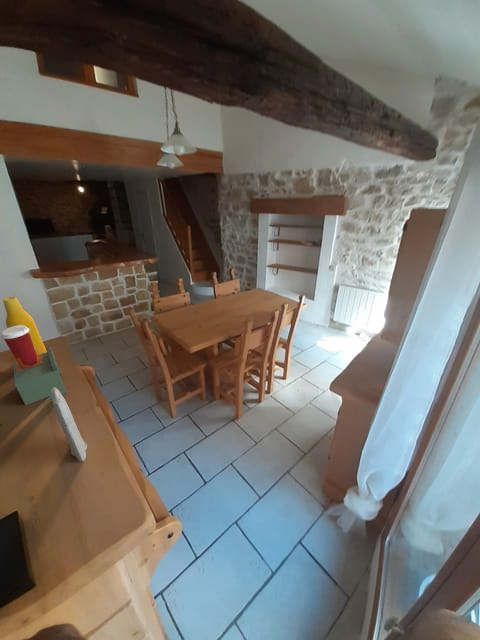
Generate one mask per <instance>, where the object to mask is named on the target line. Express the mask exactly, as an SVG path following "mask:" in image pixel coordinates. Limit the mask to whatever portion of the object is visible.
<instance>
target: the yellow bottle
mask: <svg viewBox="0 0 480 640" xmlns="http://www.w3.org/2000/svg"><path fill="white" fill-rule="evenodd" d="M2 302H3V305H4V309H5V312H6V318H5V325H6V329H7V328H10V327H13V326H18V325H24V326H26V327H27V328H29V333H30V336H31V339H32V342H33V345H34V348H35V350H36V353H37V355H39V354H42V353H46V352H48V351H47V347H46V346H45V344H44V341H43V338H42V337H41V334H40V332H39V330H38V327H37V324H36V322H35V320H34V318H33V317H32V316H31V315H30V314H29V313H28V312H27V311H25V310H24V308H23V307H22V305H21V303H20V301H19V300H18V298H17V297H16V296H8V297H5V298H3V299H2Z"/></svg>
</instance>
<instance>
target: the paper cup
mask: <svg viewBox="0 0 480 640" xmlns="http://www.w3.org/2000/svg"><path fill="white" fill-rule="evenodd" d="M0 337H1V339H2V340H4V341H5V343H6V345H7V347H8V349H9V350H10V352H11V354H12V355H13V357H14V359H15V361H17V362H18V363H19V365H20V366H21V367H28V366H31V365H34V364H35V363H37V362H38V356H37V353H36V350H35V348H34V345H33V342H32V339H31V336H30V333H29V328H27V327H26V326H24V325H18V326H13V327H10V328H7V327H6V328H4V330H2V331H1V335H0Z"/></svg>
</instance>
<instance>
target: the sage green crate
mask: <svg viewBox="0 0 480 640" xmlns="http://www.w3.org/2000/svg"><path fill="white" fill-rule="evenodd" d="M46 350H47V352H46V353H42V354H39V355H37V356H38V362H37V363H35V364H34V365H31V366H28V367H21V366H20V365H19V363H18V362H17V360H15V361H13V375H14V377H13V378H14V386H15V388H16V390H17V392H18V393H19V396H20V398H21V399H22V400H23V401H22V402H23V403H24V405H25V406H27V405H30V404H33V403H35V402H38V401H40V400H43V399H44V400H43V403H45V402H48V401H52V397H51V390H52V388H53V387H56V388H57V389H58V390H59V391H60V393H61V395H62V396H64V395H66V394H68V392H67V389H66V386H65V384H64V381H63V380H62V377H61V375H62V372H61V369H60V367H59V365H58V362H57V359H56V357H55V354H54V352H53V349H52V347H51V346H47V347H46Z"/></svg>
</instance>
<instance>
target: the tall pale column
mask: <svg viewBox="0 0 480 640" xmlns="http://www.w3.org/2000/svg"><path fill="white" fill-rule="evenodd" d="M51 397H52V399H51V401H52V405H53V409H54V412H55V415H56V417H57V420H58V422H59V425H60V426H61V429H62V431H63V433H64V435H65V438H66V440H67V442H68V444H69V447H70V454H71V456H73V457H75V458H76V459H77V461H78V462H79V463H83V462H85V461H86V458H87V449H88V444H87V442H86V441H84V439H83V437H82V434H81V433H80V430H79V428H78V426H77V424H76V421H75V418H74V416H73V414H72V412H71V409H70V407H69V405H68V403H67V401H66V399H65V397H64V395H61V393H60V391H59V390H58V389H57V388H56V387H53V388H52V390H51Z"/></svg>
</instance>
